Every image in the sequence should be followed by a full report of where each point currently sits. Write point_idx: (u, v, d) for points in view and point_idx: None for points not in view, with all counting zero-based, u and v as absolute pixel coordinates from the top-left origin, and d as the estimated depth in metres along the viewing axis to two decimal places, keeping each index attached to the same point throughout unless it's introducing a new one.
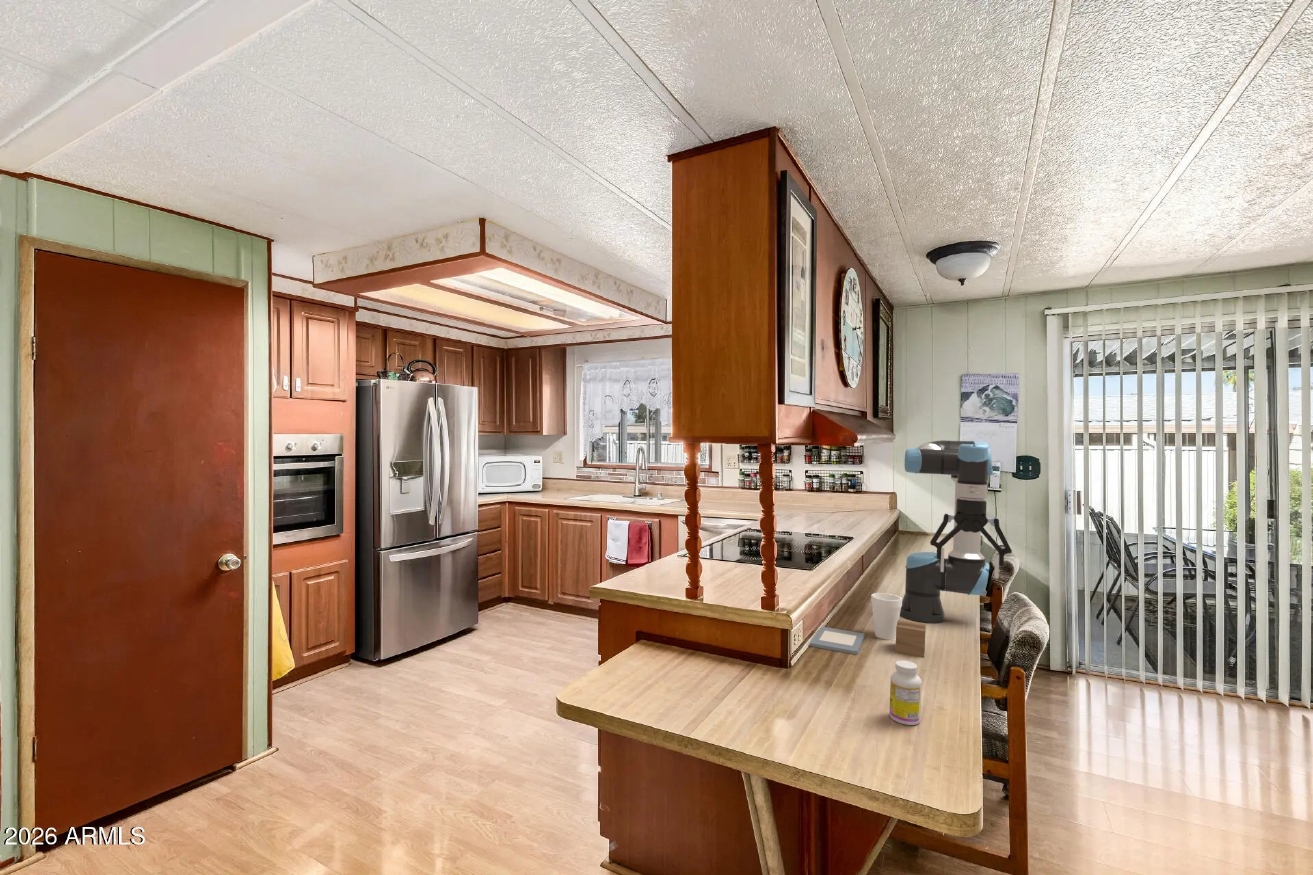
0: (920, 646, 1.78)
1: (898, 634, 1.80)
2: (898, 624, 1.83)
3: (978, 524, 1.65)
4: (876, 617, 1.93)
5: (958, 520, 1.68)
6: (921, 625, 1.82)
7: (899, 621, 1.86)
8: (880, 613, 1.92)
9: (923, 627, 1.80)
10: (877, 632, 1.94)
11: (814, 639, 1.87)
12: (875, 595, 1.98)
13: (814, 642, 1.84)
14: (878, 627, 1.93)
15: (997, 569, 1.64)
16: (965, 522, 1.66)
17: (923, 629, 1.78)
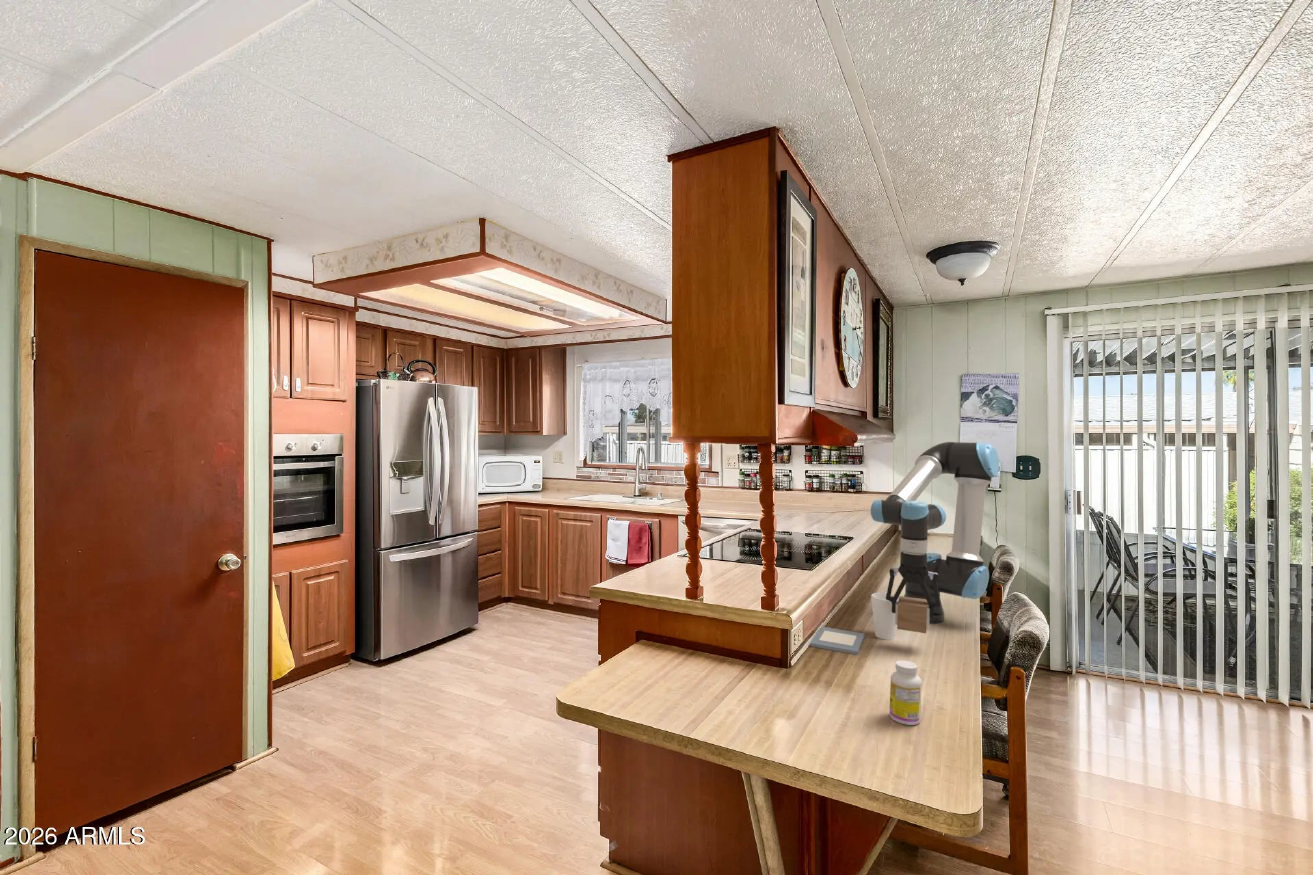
0: (922, 622, 1.78)
1: (899, 611, 1.80)
2: (900, 601, 1.83)
3: (919, 576, 1.80)
4: (876, 617, 1.93)
5: (902, 572, 1.83)
6: (923, 601, 1.82)
7: (901, 598, 1.86)
8: (880, 613, 1.92)
9: (925, 603, 1.81)
10: (877, 632, 1.94)
11: (814, 639, 1.87)
12: (875, 595, 1.98)
13: (814, 642, 1.84)
14: (878, 627, 1.93)
15: (928, 621, 1.80)
16: (908, 574, 1.81)
17: (925, 605, 1.79)
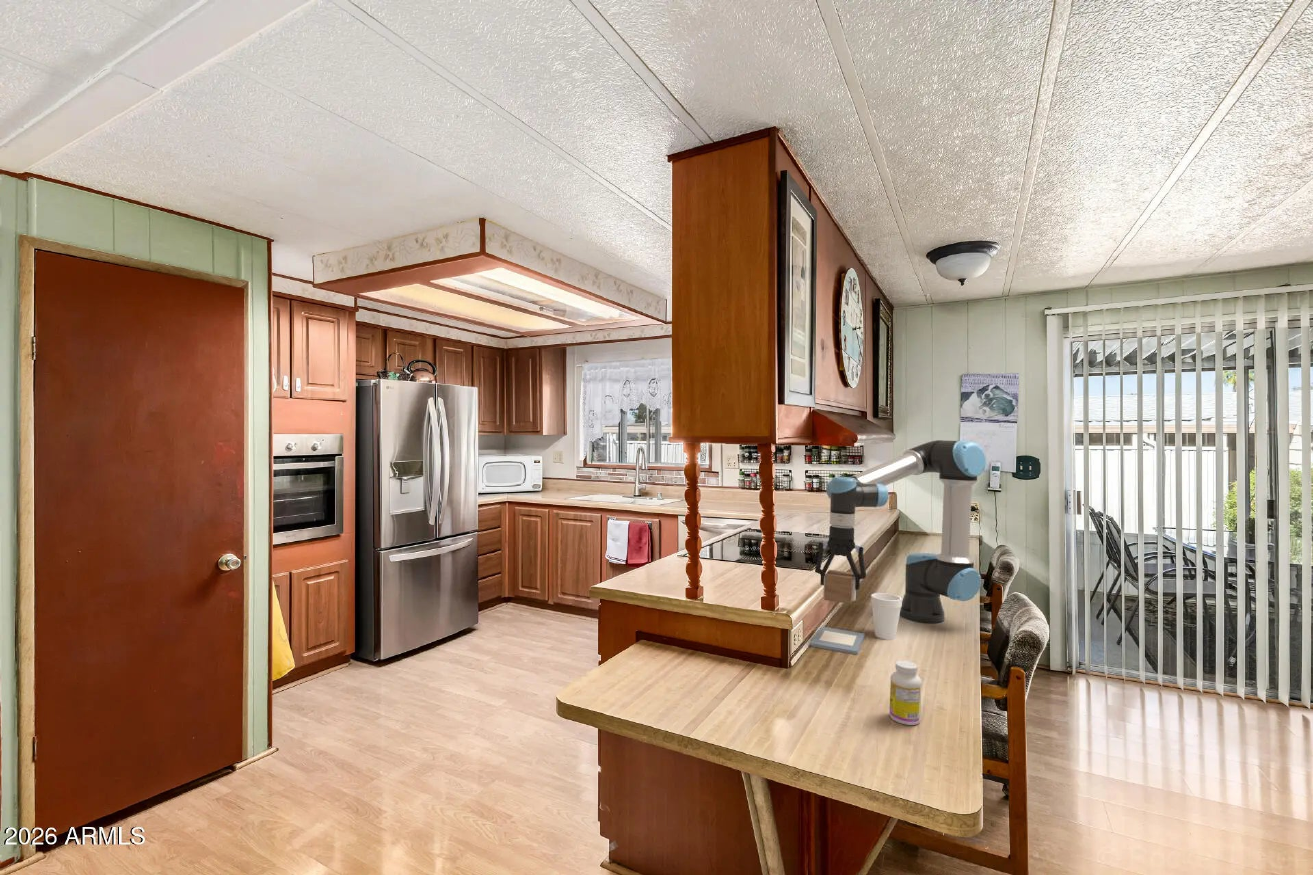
0: (847, 593, 1.84)
1: (826, 582, 1.86)
2: (828, 573, 1.89)
3: (846, 549, 1.86)
4: (876, 617, 1.93)
5: (830, 545, 1.89)
6: (850, 574, 1.88)
7: (830, 571, 1.92)
8: (880, 613, 1.92)
9: (851, 575, 1.87)
10: (877, 632, 1.94)
11: (814, 639, 1.87)
12: (875, 595, 1.98)
13: (814, 642, 1.84)
14: (878, 627, 1.93)
15: (853, 593, 1.85)
16: (835, 547, 1.87)
17: (850, 576, 1.85)
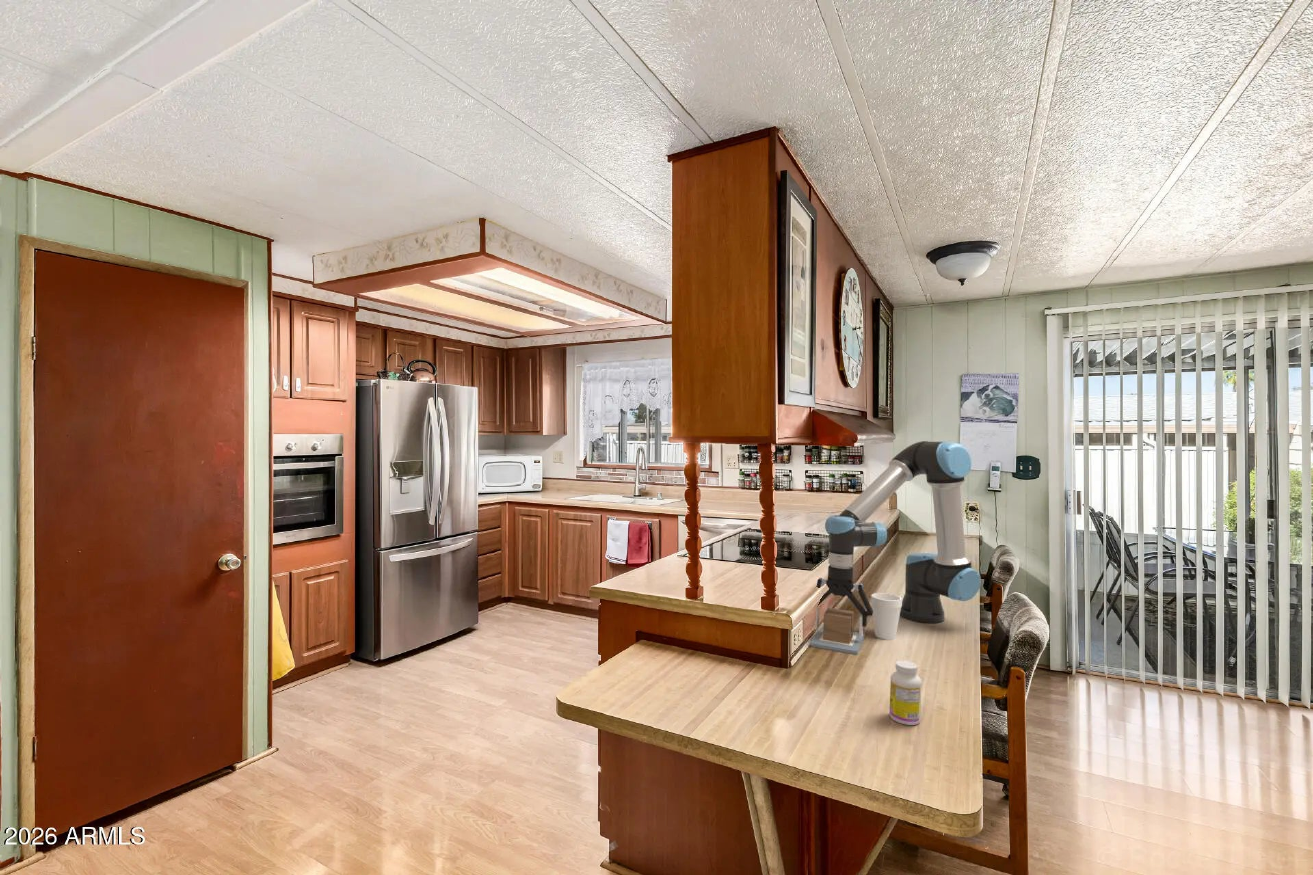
0: (845, 633, 1.84)
1: (825, 621, 1.87)
2: (826, 612, 1.89)
3: (845, 589, 1.86)
4: (876, 617, 1.93)
5: (829, 584, 1.89)
6: (849, 613, 1.88)
7: (828, 609, 1.92)
8: (880, 613, 1.92)
9: (850, 614, 1.87)
10: (877, 632, 1.94)
11: (814, 639, 1.87)
12: (875, 595, 1.98)
13: (814, 642, 1.84)
14: (878, 627, 1.93)
15: (860, 629, 1.85)
16: (834, 587, 1.87)
17: (849, 616, 1.85)
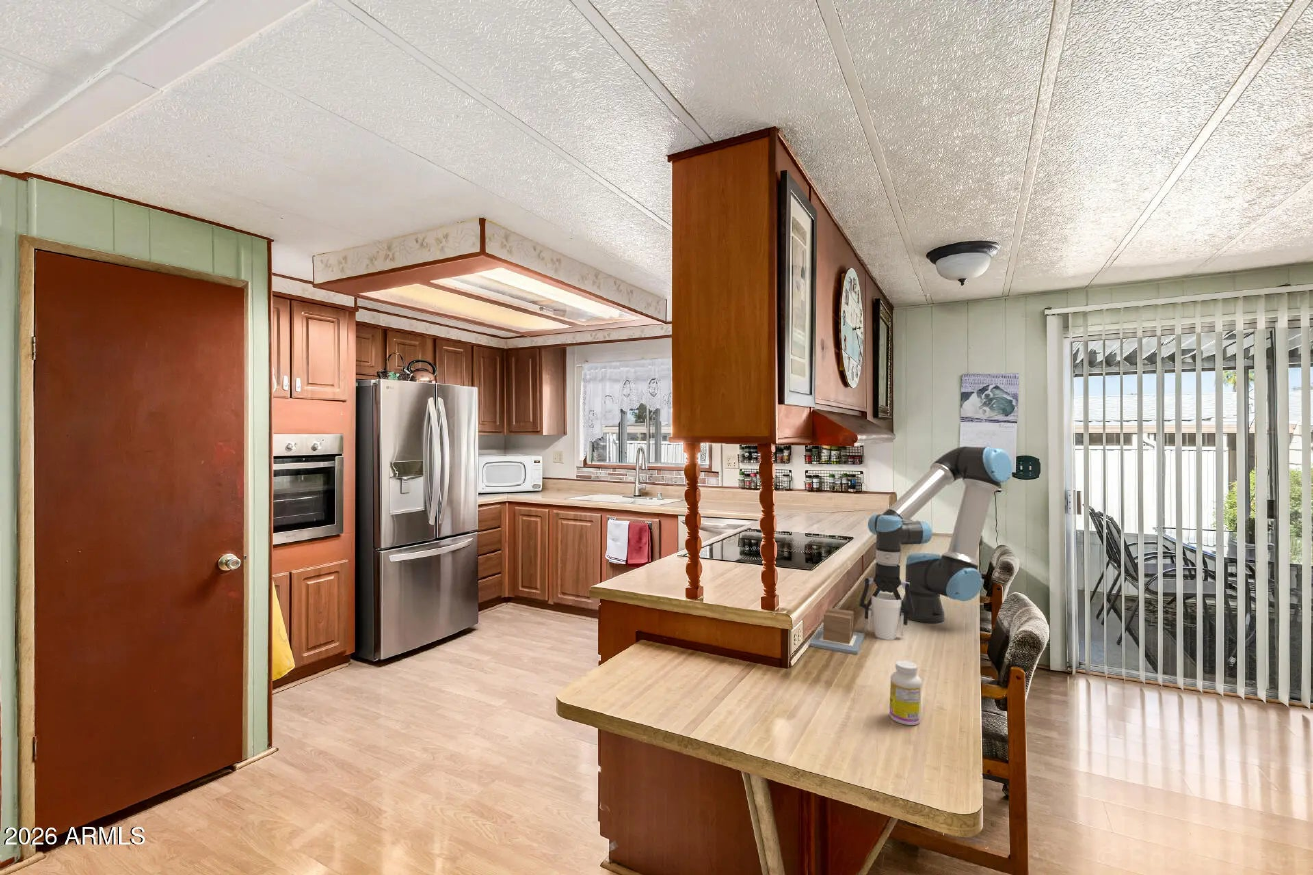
0: (845, 633, 1.84)
1: (825, 621, 1.87)
2: (826, 612, 1.89)
3: (892, 586, 1.92)
4: (876, 617, 1.93)
5: (876, 581, 1.95)
6: (849, 613, 1.88)
7: (828, 609, 1.92)
8: (880, 613, 1.92)
9: (850, 614, 1.87)
10: (877, 632, 1.94)
11: (814, 639, 1.87)
12: None
13: (814, 642, 1.84)
14: (878, 627, 1.93)
15: (902, 628, 1.91)
16: (882, 583, 1.93)
17: (849, 616, 1.85)
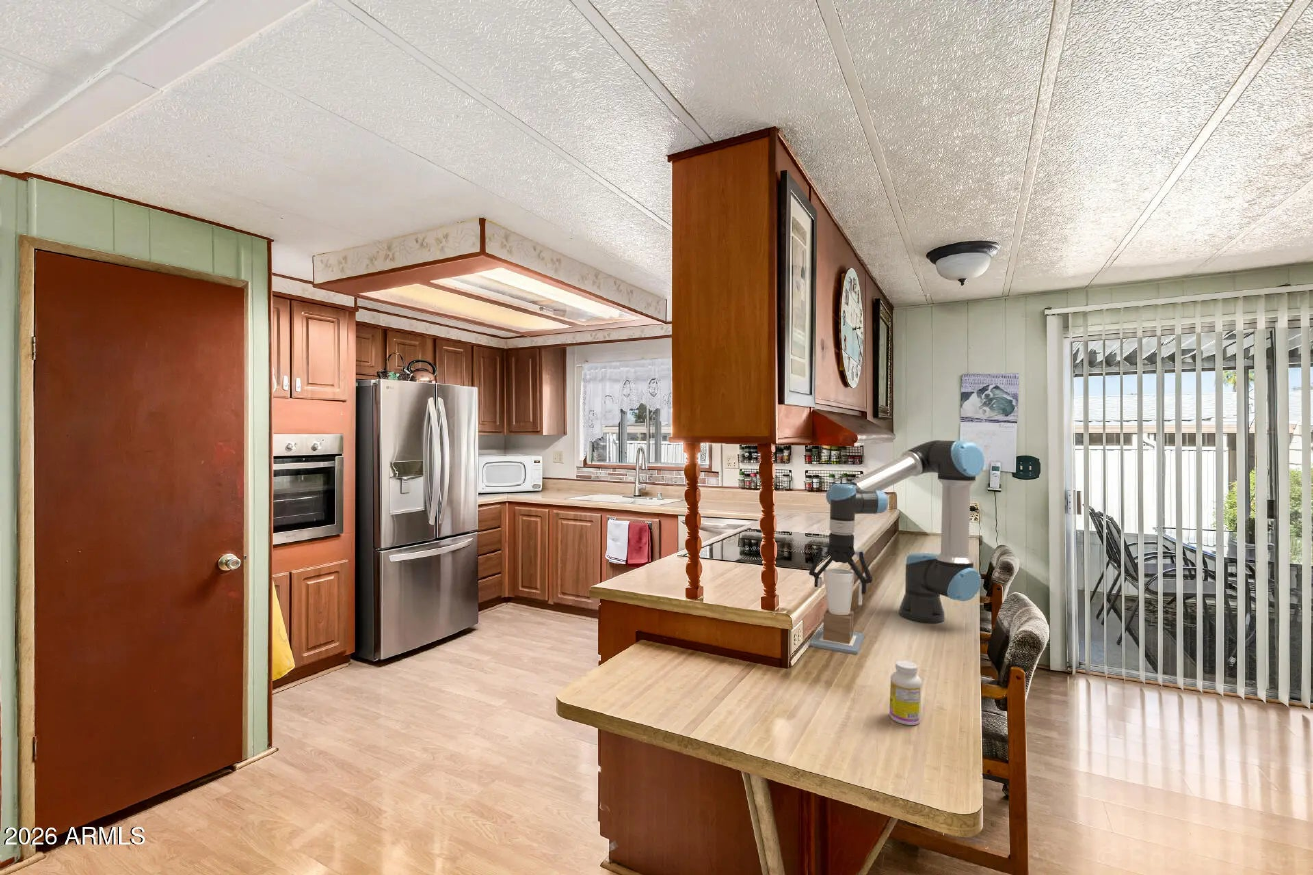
0: (845, 633, 1.84)
1: (825, 621, 1.87)
2: (826, 612, 1.89)
3: (846, 556, 1.86)
4: (829, 592, 1.87)
5: (830, 552, 1.89)
6: (849, 613, 1.88)
7: None
8: (832, 588, 1.86)
9: (850, 614, 1.87)
10: (830, 608, 1.87)
11: (814, 639, 1.87)
12: (828, 570, 1.92)
13: (814, 642, 1.84)
14: (831, 602, 1.87)
15: (860, 597, 1.85)
16: (835, 554, 1.87)
17: (849, 616, 1.85)
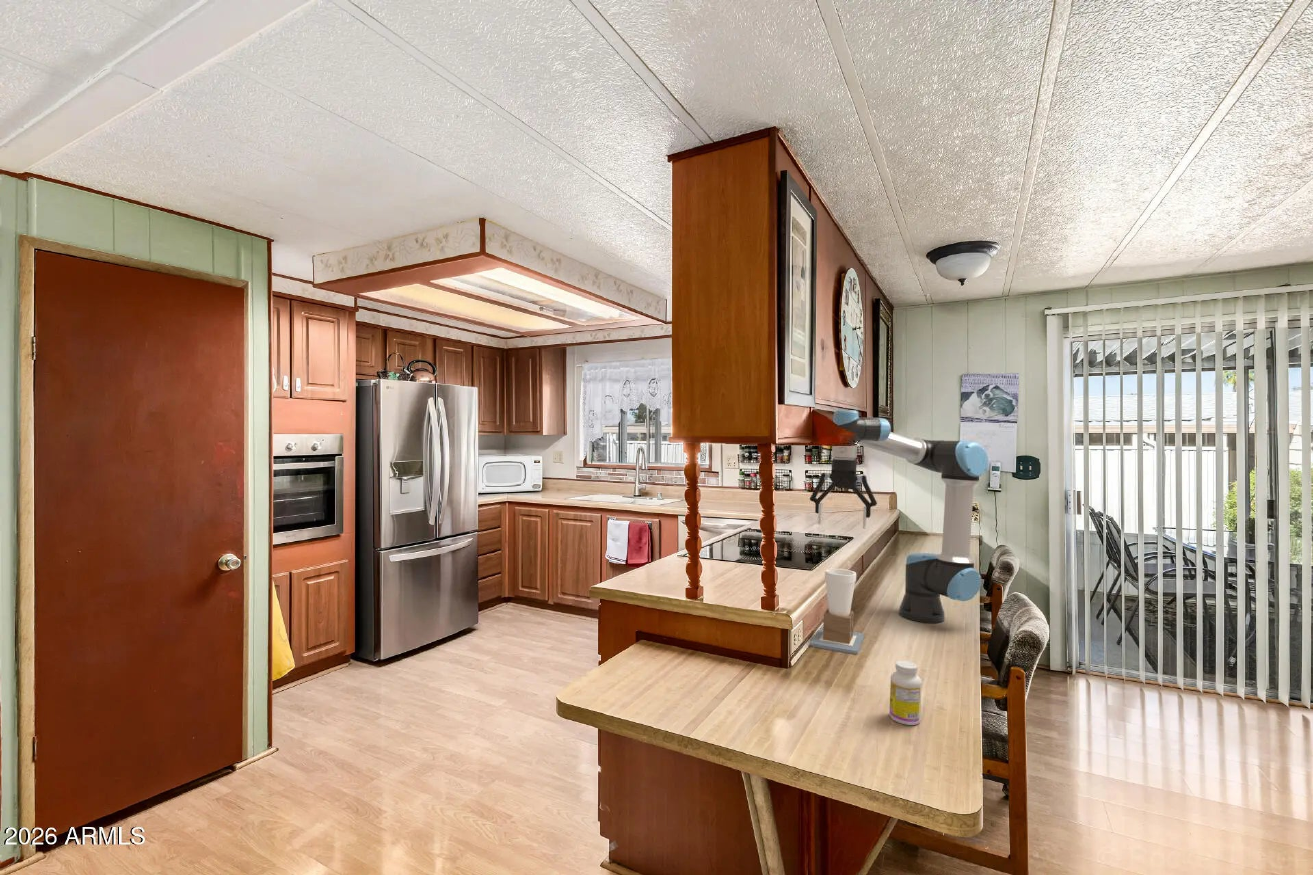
0: (845, 633, 1.84)
1: (825, 621, 1.87)
2: (826, 612, 1.89)
3: (848, 481, 1.86)
4: (829, 593, 1.87)
5: (832, 478, 1.89)
6: None
7: (828, 609, 1.92)
8: (833, 589, 1.86)
9: (850, 614, 1.87)
10: (830, 608, 1.87)
11: (814, 639, 1.87)
12: (829, 570, 1.92)
13: (814, 642, 1.84)
14: (832, 603, 1.87)
15: (864, 520, 1.84)
16: (838, 479, 1.87)
17: (849, 616, 1.85)
